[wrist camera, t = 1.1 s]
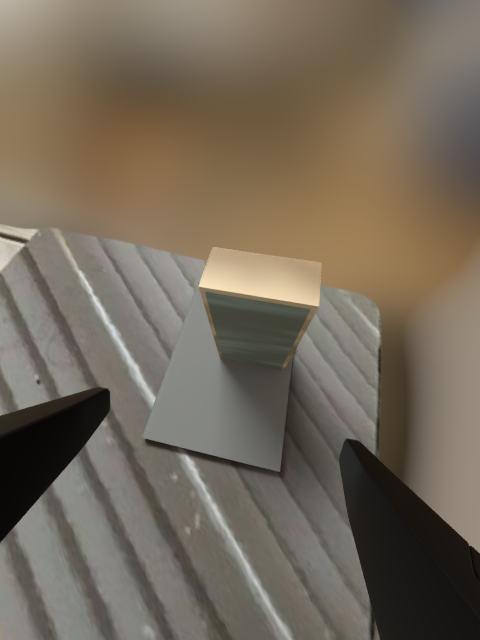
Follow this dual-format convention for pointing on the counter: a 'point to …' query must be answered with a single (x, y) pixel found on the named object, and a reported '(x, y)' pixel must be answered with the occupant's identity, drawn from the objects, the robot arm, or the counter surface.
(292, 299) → the tile
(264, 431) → the mat
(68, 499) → the counter surface
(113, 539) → the counter surface
